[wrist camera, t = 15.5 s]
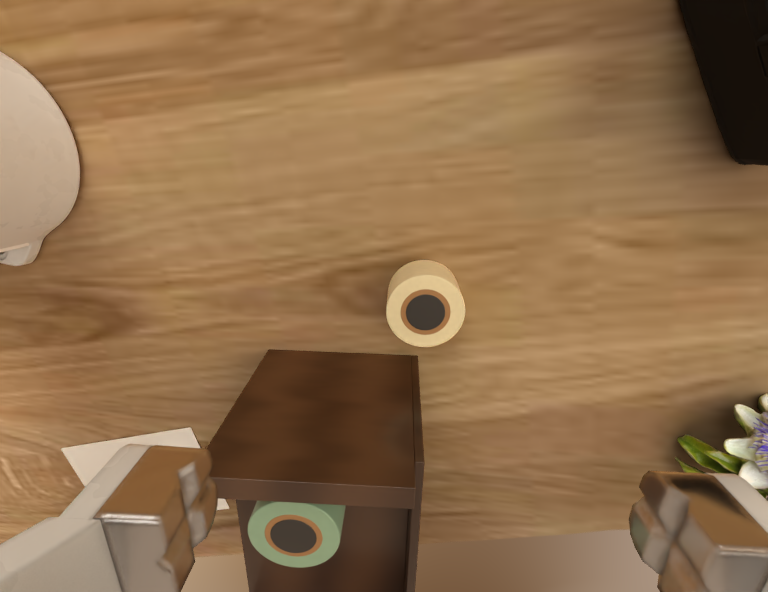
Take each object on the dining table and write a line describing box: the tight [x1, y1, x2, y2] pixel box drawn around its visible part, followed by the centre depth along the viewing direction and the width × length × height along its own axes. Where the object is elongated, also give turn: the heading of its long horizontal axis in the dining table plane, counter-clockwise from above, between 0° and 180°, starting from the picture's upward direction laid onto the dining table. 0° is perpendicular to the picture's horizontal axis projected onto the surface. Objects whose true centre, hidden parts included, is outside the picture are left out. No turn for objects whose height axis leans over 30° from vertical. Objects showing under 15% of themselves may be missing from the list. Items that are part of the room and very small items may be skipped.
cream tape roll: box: [386, 260, 465, 347], centre depth 33 cm, size 6×6×4 cm
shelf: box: [207, 350, 424, 592], centre depth 34 cm, size 14×20×15 cm
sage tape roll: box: [248, 501, 346, 568], centre depth 28 cm, size 6×6×4 cm
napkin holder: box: [61, 427, 229, 510], centre depth 41 cm, size 15×11×6 cm
